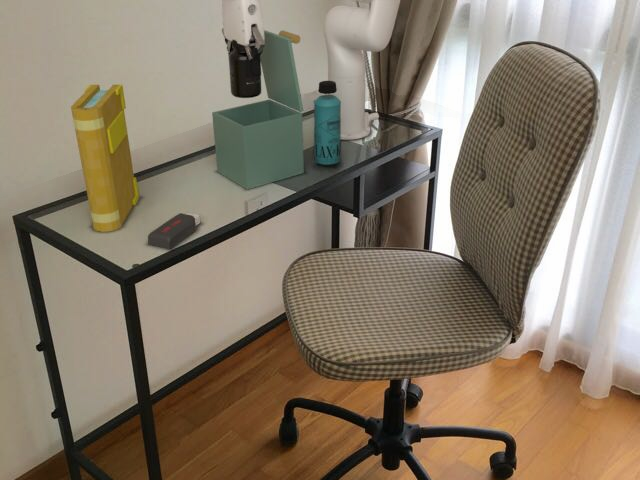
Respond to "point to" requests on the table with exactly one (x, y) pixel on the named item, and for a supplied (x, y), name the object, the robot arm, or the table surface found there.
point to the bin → (258, 143)
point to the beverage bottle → (327, 125)
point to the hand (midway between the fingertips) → (245, 72)
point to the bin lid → (281, 69)
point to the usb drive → (174, 230)
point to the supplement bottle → (242, 73)
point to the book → (105, 155)
